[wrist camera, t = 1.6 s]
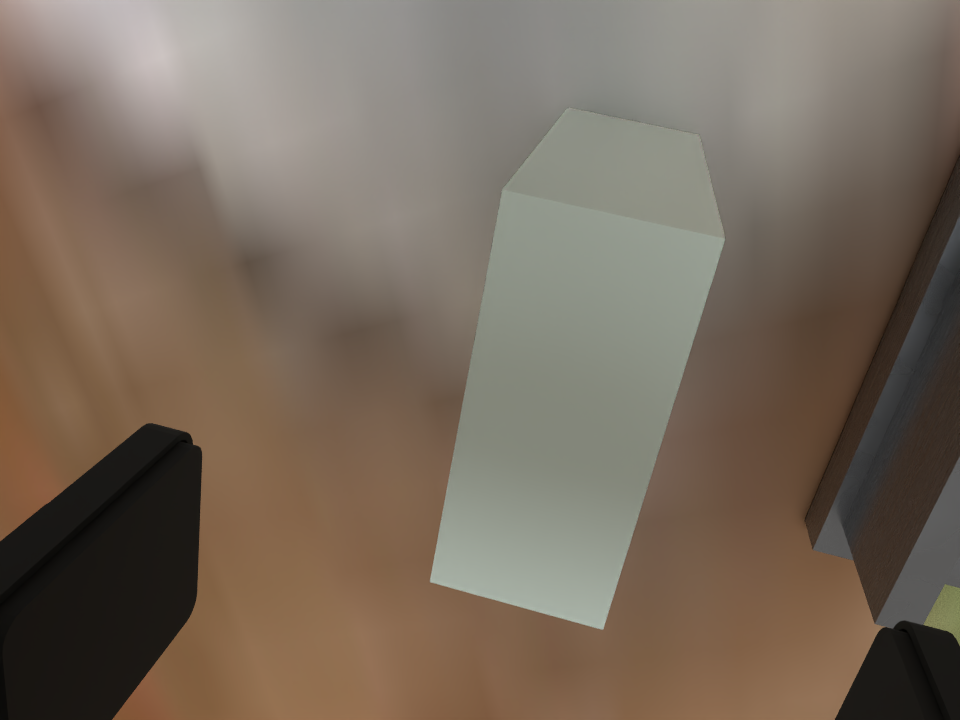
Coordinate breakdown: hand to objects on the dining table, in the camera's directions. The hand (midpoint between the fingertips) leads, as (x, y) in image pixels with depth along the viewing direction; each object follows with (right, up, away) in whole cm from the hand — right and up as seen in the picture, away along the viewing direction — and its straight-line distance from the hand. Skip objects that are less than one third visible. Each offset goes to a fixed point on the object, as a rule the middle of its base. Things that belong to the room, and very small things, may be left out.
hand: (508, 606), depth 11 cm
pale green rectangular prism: (+3, +6, +12) cm, 14 cm away
